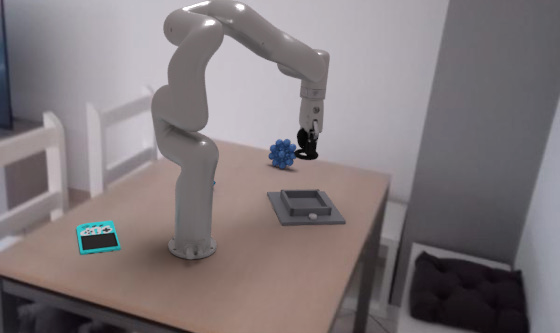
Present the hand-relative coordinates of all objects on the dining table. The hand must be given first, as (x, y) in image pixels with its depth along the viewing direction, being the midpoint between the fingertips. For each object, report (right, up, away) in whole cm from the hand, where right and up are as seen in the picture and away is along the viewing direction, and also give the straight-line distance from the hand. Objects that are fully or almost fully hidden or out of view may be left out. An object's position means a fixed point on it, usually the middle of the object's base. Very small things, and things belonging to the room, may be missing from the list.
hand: (306, 149), depth 164 cm
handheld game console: (-57, -25, -20) cm, 65 cm away
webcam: (0, -2, +1) cm, 2 cm away
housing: (0, -19, +8) cm, 20 cm away
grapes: (-7, -6, +40) cm, 41 cm away
